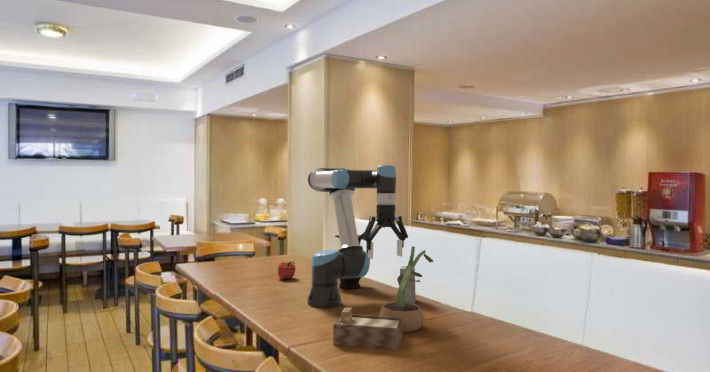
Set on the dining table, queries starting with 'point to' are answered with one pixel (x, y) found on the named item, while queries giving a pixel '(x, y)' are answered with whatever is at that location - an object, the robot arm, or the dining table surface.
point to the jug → (351, 282)
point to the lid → (365, 320)
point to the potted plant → (401, 308)
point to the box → (368, 334)
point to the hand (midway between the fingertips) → (385, 257)
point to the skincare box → (409, 287)
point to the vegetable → (286, 270)
